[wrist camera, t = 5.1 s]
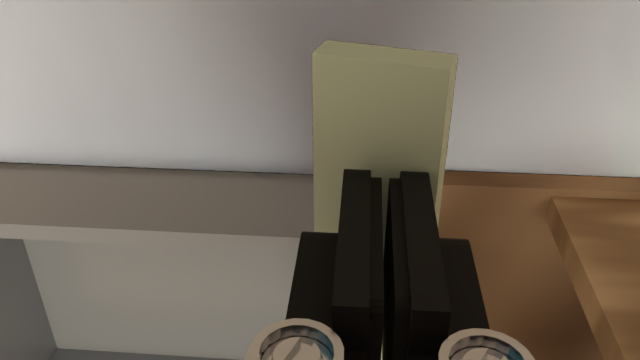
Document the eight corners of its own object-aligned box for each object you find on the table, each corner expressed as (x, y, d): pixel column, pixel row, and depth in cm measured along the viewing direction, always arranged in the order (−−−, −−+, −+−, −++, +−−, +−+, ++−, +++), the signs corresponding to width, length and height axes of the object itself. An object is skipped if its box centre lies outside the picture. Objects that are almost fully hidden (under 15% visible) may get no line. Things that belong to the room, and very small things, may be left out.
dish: (-8, 162, 24) (-73, 220, 20) (355, 176, 23) (351, 240, 19) (52, 348, 29) (9, 419, 26) (349, 367, 28) (345, 443, 25)
